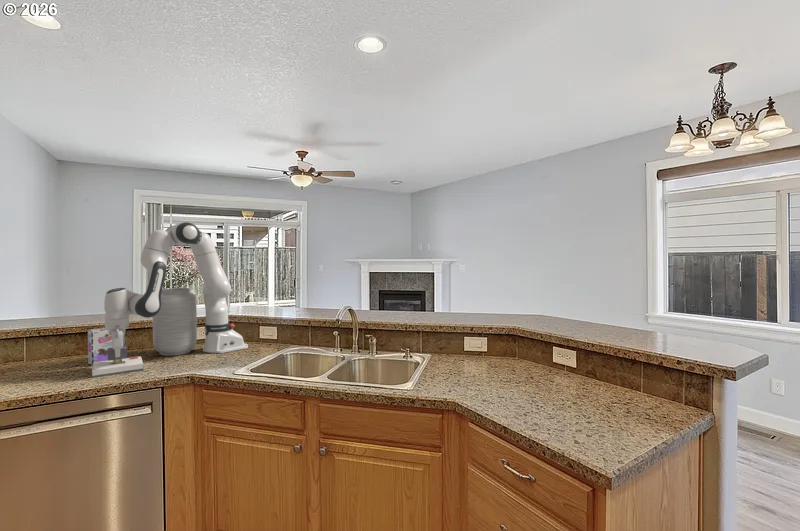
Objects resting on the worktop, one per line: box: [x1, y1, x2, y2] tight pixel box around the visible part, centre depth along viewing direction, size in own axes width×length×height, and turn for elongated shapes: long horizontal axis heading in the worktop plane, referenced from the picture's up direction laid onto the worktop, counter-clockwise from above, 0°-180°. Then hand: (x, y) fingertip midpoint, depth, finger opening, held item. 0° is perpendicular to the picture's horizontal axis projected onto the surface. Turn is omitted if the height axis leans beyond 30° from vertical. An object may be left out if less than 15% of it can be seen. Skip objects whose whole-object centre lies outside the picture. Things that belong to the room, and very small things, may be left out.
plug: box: [108, 345, 128, 363], centre depth 178 cm, size 7×6×7 cm
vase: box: [151, 287, 198, 357], centre depth 209 cm, size 20×20×34 cm
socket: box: [91, 355, 144, 379], centre depth 178 cm, size 18×16×4 cm
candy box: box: [87, 327, 126, 367], centre depth 191 cm, size 14×6×16 cm, turn 143°
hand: (117, 355), depth 178 cm, fingers closed on plug, 5 cm apart
